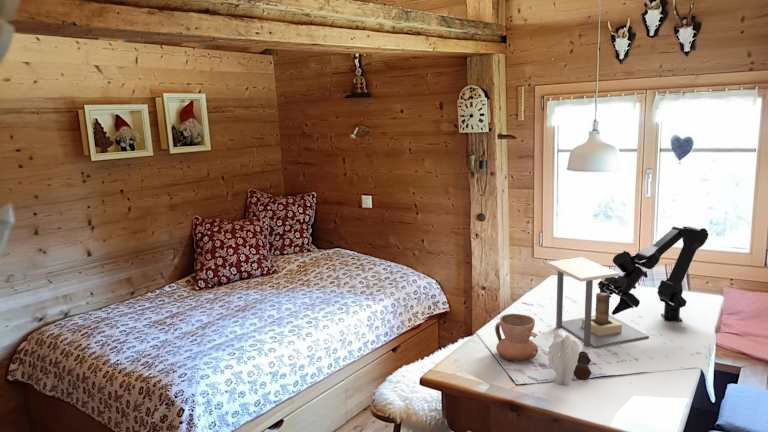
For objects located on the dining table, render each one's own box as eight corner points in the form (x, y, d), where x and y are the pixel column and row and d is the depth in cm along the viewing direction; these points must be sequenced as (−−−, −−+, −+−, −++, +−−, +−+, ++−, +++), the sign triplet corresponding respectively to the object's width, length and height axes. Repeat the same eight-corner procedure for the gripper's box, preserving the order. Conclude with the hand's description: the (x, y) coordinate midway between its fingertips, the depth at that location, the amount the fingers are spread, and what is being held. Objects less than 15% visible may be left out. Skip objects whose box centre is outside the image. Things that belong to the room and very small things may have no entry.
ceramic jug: (549, 358, 205) (549, 320, 202) (522, 370, 196) (522, 331, 194) (509, 343, 219) (509, 307, 216) (483, 354, 210) (482, 317, 208)
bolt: (585, 365, 203) (583, 384, 189) (572, 356, 204) (570, 375, 190) (594, 352, 201) (593, 370, 187) (581, 344, 202) (579, 361, 188)
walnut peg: (597, 325, 229) (599, 291, 226) (609, 328, 226) (611, 294, 223) (593, 329, 226) (594, 295, 223) (605, 332, 222) (606, 297, 219)
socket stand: (607, 315, 240) (610, 252, 235) (648, 337, 218) (653, 268, 212) (543, 326, 232) (545, 261, 226) (580, 350, 210) (582, 279, 204)
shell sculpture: (553, 373, 194) (555, 323, 190) (578, 380, 189) (580, 328, 185) (545, 384, 187) (546, 332, 183) (571, 391, 182) (572, 338, 179)
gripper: (602, 260, 231) (577, 290, 230) (634, 274, 214) (608, 306, 213) (618, 276, 235) (594, 306, 234) (651, 291, 217) (625, 323, 217)
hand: (604, 310), depth 224 cm, fingers open, 9 cm apart
